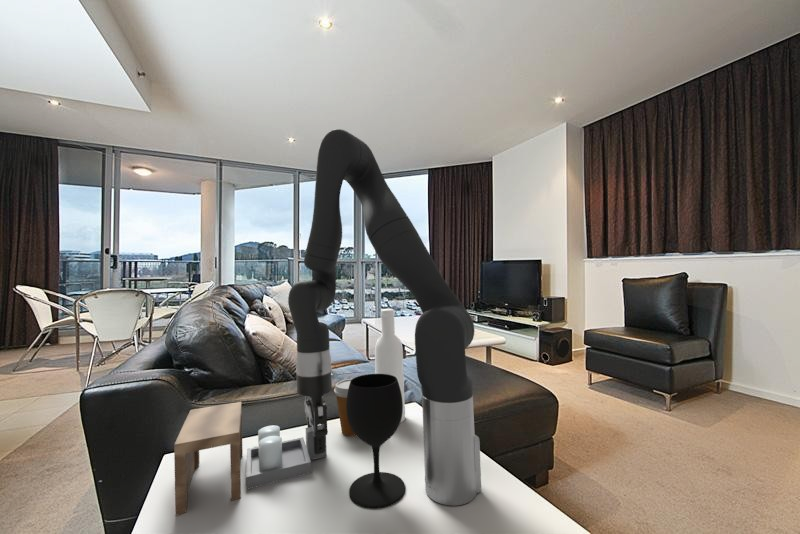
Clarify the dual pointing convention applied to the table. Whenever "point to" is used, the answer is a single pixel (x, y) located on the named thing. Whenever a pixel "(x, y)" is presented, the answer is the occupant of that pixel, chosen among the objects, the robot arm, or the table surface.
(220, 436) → the small wooden table
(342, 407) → the disposable coffee cup
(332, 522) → the table surface
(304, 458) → the tray
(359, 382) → the wine glass
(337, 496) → the table surface
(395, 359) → the bottle
